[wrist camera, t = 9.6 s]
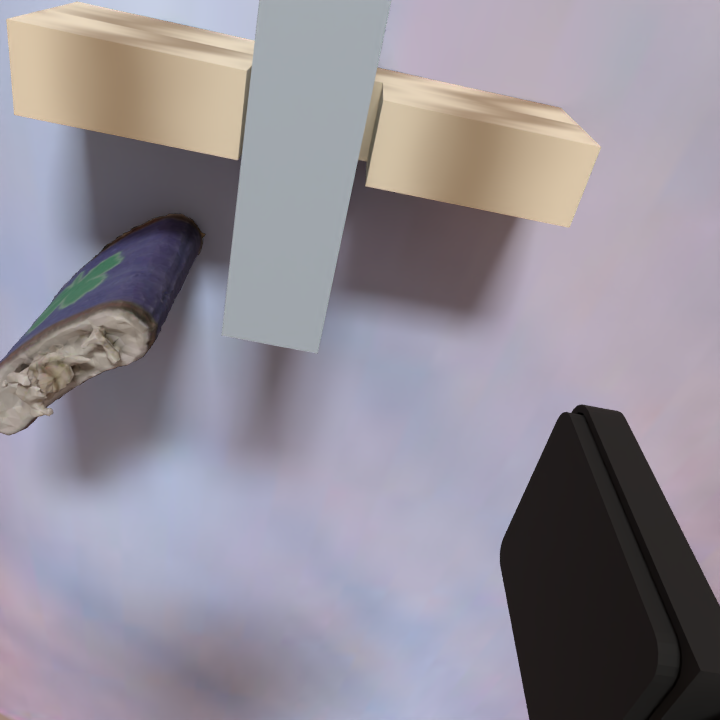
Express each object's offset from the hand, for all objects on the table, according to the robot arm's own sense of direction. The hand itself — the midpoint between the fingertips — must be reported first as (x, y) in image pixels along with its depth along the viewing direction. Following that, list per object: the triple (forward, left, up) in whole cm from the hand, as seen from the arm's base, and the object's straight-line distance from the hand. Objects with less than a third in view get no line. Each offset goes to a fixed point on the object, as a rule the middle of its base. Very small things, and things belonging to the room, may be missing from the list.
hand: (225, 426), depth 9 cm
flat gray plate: (0, 0, -22) cm, 22 cm away
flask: (+8, +10, -22) cm, 26 cm away
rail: (0, 0, -22) cm, 22 cm away
